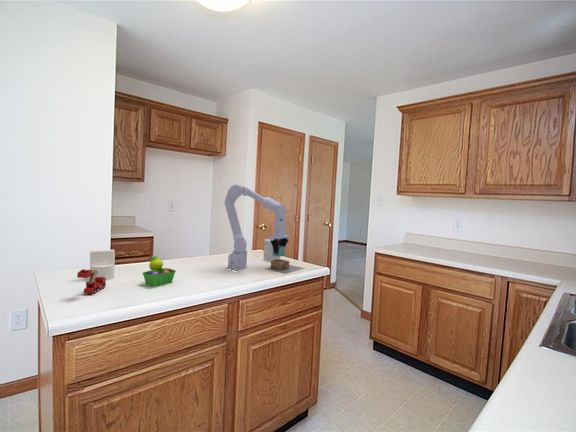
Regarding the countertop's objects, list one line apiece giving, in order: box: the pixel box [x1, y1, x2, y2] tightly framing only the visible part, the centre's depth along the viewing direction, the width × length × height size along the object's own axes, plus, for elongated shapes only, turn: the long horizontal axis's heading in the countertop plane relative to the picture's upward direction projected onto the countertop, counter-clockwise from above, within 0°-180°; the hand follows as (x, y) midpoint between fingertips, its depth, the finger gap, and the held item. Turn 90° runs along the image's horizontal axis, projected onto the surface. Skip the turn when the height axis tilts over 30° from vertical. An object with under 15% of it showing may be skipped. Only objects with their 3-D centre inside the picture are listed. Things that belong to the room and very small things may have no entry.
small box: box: [263, 238, 281, 263], centre depth 181 cm, size 8×6×13 cm
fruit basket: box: [142, 255, 177, 288], centre depth 128 cm, size 11×9×11 cm
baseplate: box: [264, 264, 306, 275], centre depth 162 cm, size 18×14×1 cm
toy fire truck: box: [76, 268, 107, 295], centre depth 113 cm, size 3×14×10 cm, turn 5°
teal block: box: [273, 246, 286, 258], centre depth 162 cm, size 4×4×5 cm
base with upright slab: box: [89, 249, 116, 282], centre depth 131 cm, size 9×9×12 cm
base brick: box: [270, 258, 290, 271], centre depth 162 cm, size 7×7×4 cm
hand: (278, 252), depth 162 cm, fingers closed on teal block, 4 cm apart
